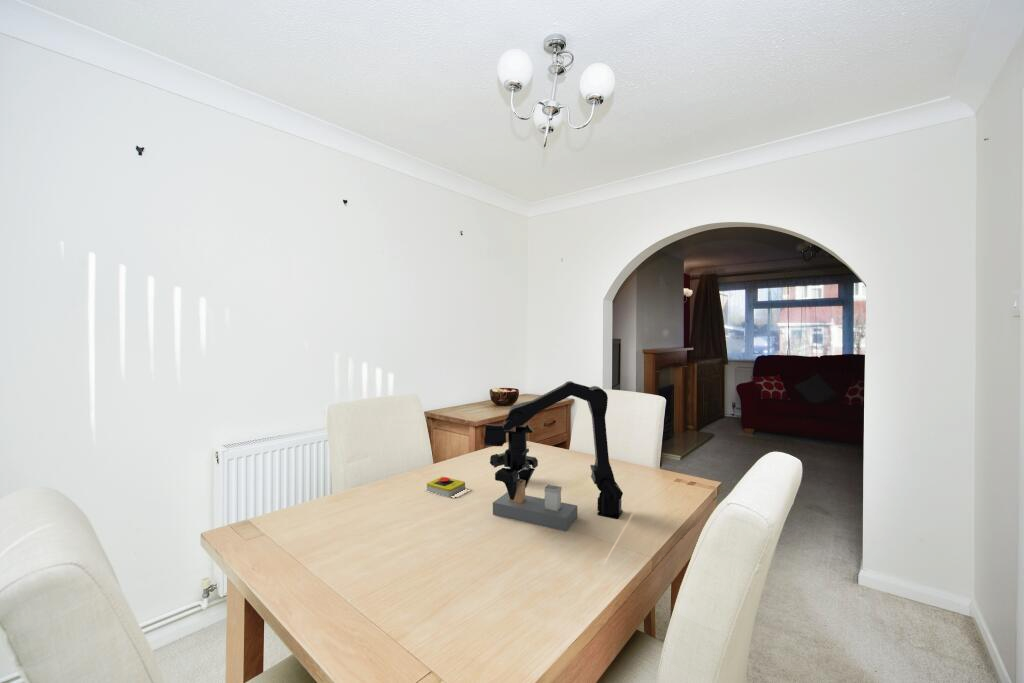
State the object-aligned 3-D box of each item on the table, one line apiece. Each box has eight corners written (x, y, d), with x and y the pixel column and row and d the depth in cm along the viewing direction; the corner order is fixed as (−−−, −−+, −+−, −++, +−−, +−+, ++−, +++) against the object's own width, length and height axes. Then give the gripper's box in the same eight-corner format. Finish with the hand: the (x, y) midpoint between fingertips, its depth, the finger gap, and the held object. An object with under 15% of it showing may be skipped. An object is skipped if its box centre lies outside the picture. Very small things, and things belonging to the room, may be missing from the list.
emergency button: (439, 472, 164) (471, 479, 156) (439, 483, 164) (471, 491, 156) (422, 479, 156) (454, 487, 148) (422, 491, 156) (454, 500, 148)
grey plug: (561, 519, 132) (561, 486, 131) (557, 523, 129) (557, 490, 129) (548, 516, 134) (548, 484, 133) (544, 520, 131) (544, 487, 130)
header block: (577, 518, 133) (577, 505, 133) (565, 532, 124) (565, 518, 124) (507, 503, 144) (507, 491, 144) (492, 515, 135) (492, 502, 135)
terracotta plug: (525, 511, 137) (525, 480, 137) (521, 515, 134) (521, 483, 134) (513, 509, 139) (513, 478, 139) (509, 512, 136) (509, 481, 136)
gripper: (508, 436, 148) (508, 482, 149) (479, 450, 132) (479, 501, 132) (538, 440, 143) (538, 487, 143) (512, 455, 126) (512, 508, 127)
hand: (517, 495), depth 137 cm, fingers open, 7 cm apart
